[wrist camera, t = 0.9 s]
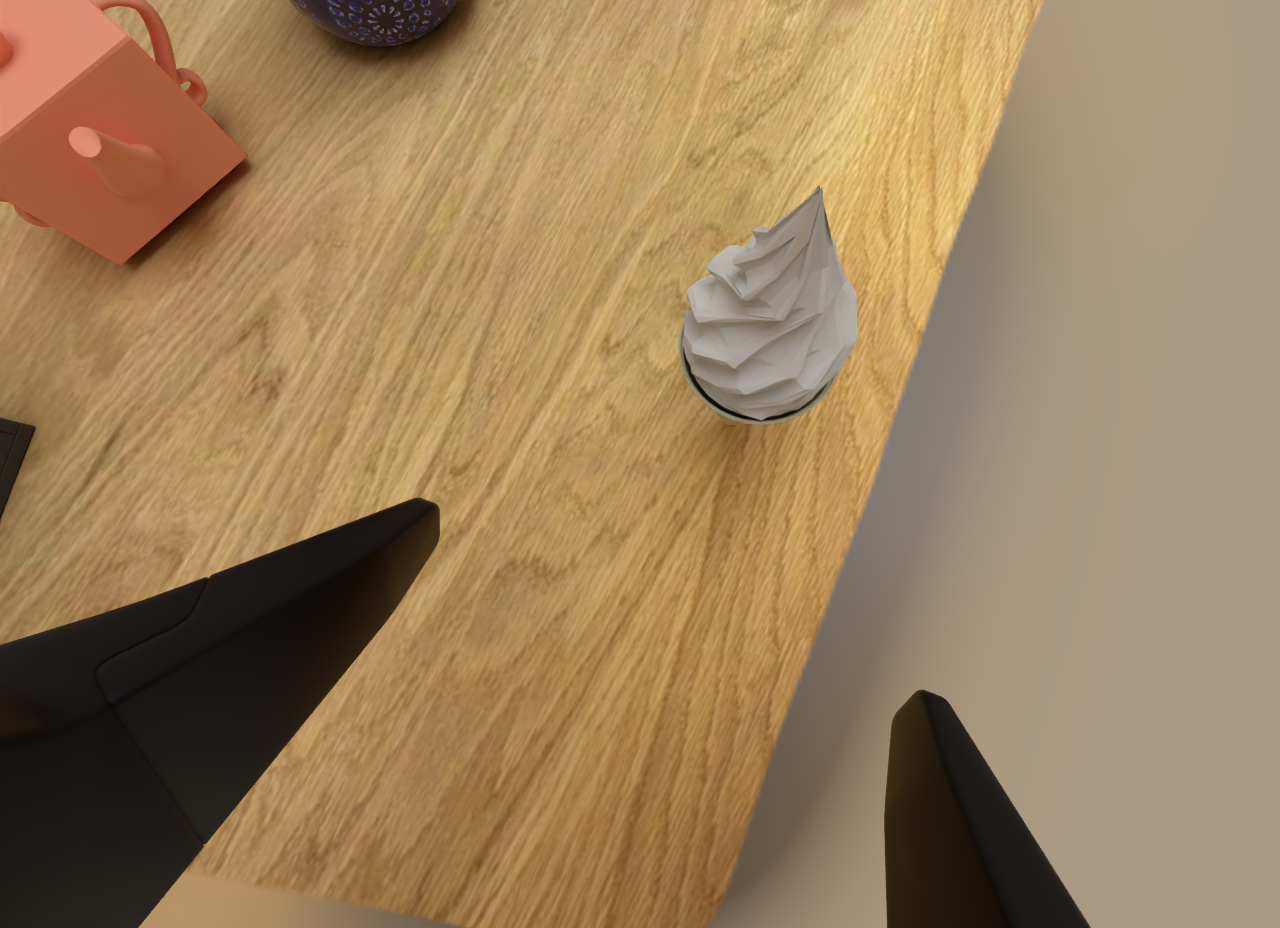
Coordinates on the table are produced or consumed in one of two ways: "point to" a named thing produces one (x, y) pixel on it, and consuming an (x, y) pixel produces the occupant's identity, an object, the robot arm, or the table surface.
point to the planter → (376, 18)
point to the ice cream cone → (770, 322)
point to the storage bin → (11, 453)
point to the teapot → (101, 125)
